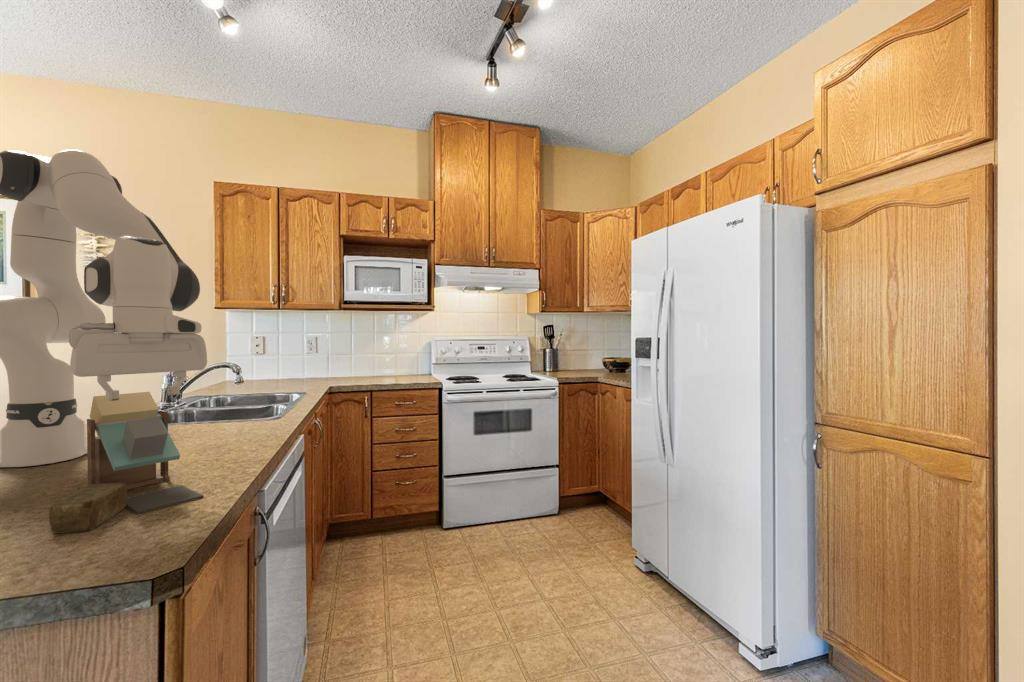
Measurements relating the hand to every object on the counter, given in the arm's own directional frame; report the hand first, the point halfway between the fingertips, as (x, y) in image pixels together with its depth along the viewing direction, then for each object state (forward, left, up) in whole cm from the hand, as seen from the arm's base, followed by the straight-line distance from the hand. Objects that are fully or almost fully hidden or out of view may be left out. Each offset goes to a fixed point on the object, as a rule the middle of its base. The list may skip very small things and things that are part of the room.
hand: (144, 397), depth 88 cm
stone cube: (-1, 0, -10) cm, 10 cm away
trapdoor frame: (-11, 0, -19) cm, 22 cm away
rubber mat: (+5, +1, -19) cm, 19 cm away
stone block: (+6, -9, -19) cm, 22 cm away
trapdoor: (-7, 0, -9) cm, 12 cm away
